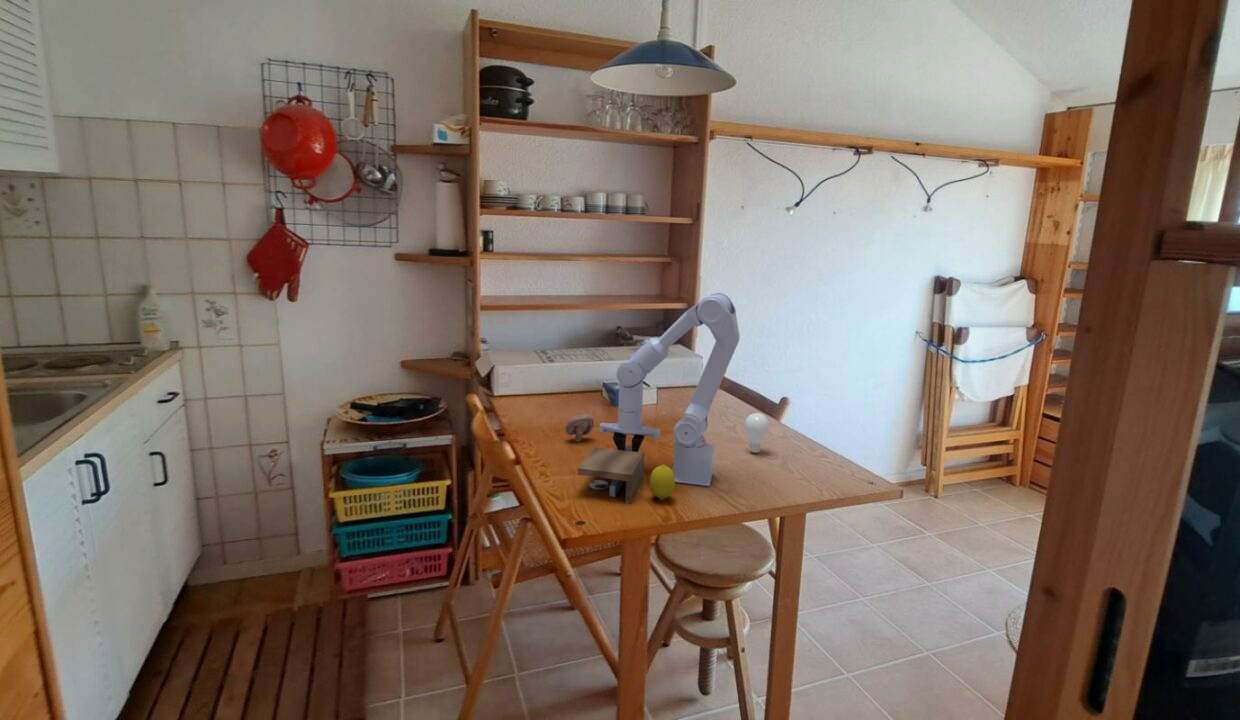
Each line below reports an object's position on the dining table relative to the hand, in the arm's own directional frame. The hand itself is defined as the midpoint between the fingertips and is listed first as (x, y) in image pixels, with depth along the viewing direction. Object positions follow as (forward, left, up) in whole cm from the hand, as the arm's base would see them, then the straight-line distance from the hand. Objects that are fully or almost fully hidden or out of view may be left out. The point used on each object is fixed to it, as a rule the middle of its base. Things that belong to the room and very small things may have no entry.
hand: (628, 462), depth 157 cm
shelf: (+1, +13, -1) cm, 13 cm away
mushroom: (+17, -15, -2) cm, 23 cm away
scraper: (0, +7, -1) cm, 8 cm away
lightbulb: (-30, -21, -2) cm, 37 cm away
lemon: (-11, +16, -2) cm, 19 cm away
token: (+4, +13, -2) cm, 13 cm away
